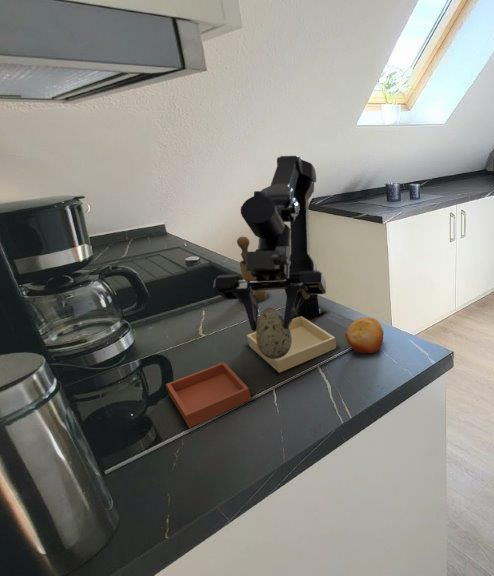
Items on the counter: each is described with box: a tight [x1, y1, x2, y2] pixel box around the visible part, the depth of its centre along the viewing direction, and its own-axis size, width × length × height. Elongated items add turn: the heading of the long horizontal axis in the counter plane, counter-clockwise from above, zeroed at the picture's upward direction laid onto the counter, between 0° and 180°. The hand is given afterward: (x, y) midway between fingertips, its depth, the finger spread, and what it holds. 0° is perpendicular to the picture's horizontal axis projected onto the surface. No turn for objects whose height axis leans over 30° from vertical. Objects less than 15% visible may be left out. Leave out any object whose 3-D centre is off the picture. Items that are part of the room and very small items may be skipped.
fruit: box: [344, 316, 384, 354], centre depth 88 cm, size 8×8×8 cm
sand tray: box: [246, 316, 337, 374], centre depth 89 cm, size 15×13×3 cm
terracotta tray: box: [165, 361, 252, 429], centre depth 73 cm, size 12×10×2 cm
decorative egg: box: [255, 307, 292, 359], centre depth 74 cm, size 6×6×10 cm
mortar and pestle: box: [236, 236, 267, 303], centre depth 111 cm, size 7×6×18 cm
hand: (269, 329), depth 72 cm, fingers closed on decorative egg, 5 cm apart
